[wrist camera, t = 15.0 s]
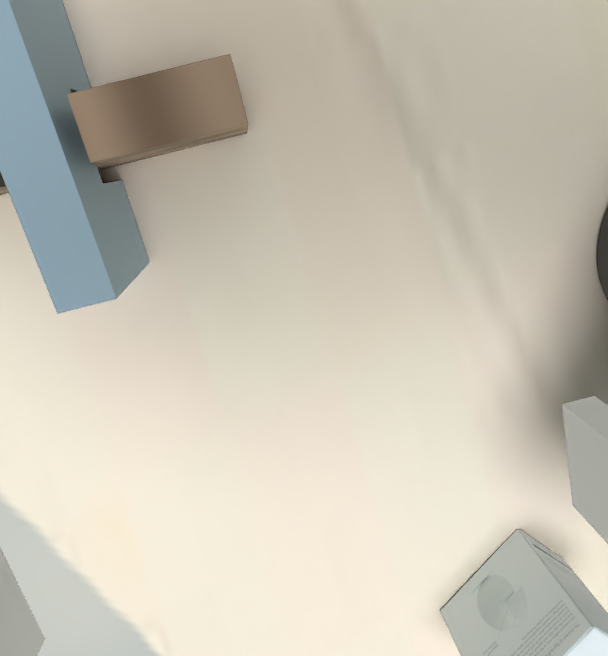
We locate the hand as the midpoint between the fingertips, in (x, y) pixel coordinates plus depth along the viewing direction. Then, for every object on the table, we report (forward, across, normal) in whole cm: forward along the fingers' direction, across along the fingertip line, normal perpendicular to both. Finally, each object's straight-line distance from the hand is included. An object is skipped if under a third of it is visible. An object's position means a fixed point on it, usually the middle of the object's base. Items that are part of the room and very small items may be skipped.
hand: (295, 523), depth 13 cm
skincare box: (+28, -13, +32) cm, 44 cm away
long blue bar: (+26, +9, -12) cm, 30 cm away
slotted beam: (+26, +9, -12) cm, 30 cm away
